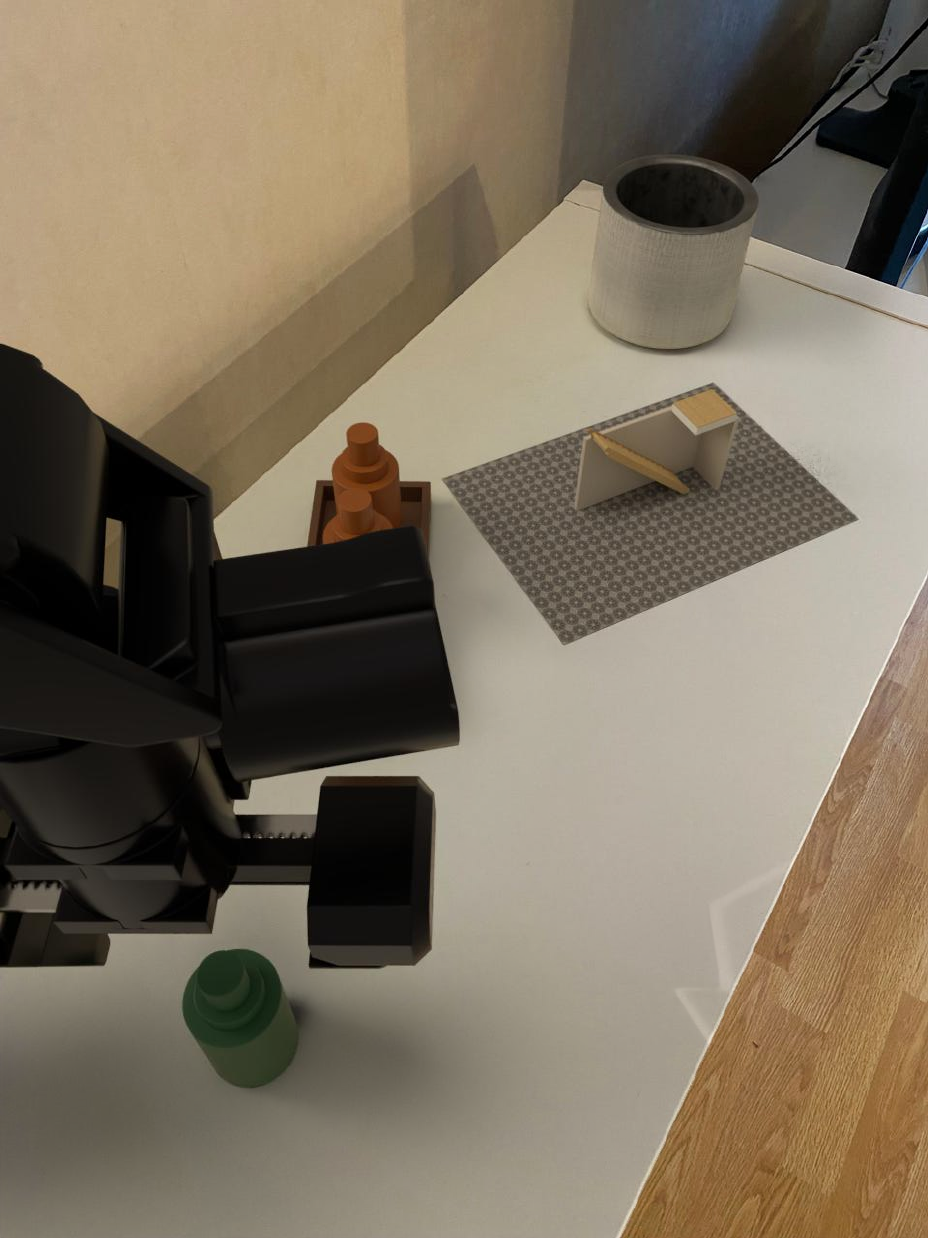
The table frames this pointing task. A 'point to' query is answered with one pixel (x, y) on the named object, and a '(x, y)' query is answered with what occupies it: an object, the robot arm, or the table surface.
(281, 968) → the table surface
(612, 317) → the planter
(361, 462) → the amber bottle far
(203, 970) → the green bottle
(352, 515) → the amber bottle middle
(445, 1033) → the table surface
